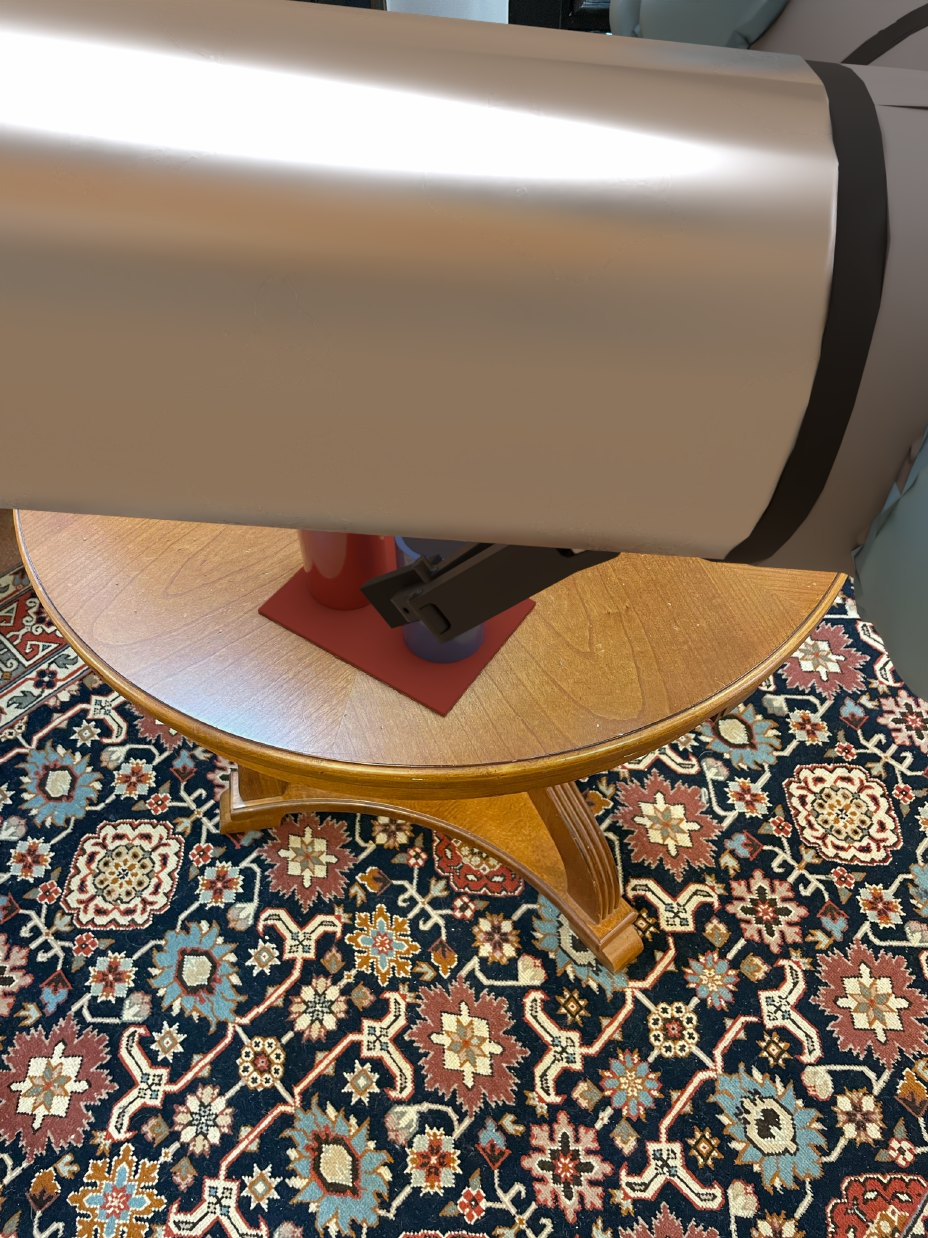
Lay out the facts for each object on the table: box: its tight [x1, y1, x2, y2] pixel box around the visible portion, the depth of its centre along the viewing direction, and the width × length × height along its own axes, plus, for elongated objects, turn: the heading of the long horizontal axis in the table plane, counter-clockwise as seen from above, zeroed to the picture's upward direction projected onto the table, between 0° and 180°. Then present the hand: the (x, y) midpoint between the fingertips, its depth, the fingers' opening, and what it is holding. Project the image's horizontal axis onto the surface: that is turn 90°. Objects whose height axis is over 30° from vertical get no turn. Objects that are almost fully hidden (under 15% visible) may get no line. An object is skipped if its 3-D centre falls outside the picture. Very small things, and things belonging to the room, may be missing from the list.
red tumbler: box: [296, 529, 388, 610], centre depth 74 cm, size 7×7×11 cm
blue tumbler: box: [394, 536, 486, 663], centre depth 70 cm, size 7×7×11 cm
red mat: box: [257, 536, 537, 718], centre depth 76 cm, size 18×13×1 cm
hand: (453, 527), depth 53 cm, fingers open, 13 cm apart
